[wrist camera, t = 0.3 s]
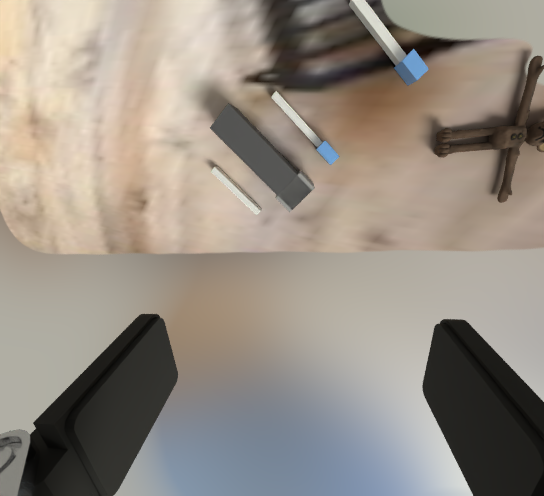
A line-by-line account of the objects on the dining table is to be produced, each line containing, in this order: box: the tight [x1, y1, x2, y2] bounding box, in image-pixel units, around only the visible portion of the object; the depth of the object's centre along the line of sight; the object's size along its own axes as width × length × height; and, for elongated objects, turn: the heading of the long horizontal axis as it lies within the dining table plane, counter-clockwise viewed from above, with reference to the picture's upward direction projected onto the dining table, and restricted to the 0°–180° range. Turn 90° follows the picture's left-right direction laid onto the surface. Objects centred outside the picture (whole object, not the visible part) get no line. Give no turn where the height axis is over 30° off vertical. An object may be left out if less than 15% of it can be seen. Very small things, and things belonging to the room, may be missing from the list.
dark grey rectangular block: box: [210, 104, 315, 212], centre depth 37 cm, size 16×5×5 cm, turn 46°
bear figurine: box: [435, 56, 544, 203], centre depth 34 cm, size 18×4×14 cm
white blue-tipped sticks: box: [211, 0, 428, 215], centre depth 36 cm, size 12×29×3 cm, turn 136°
